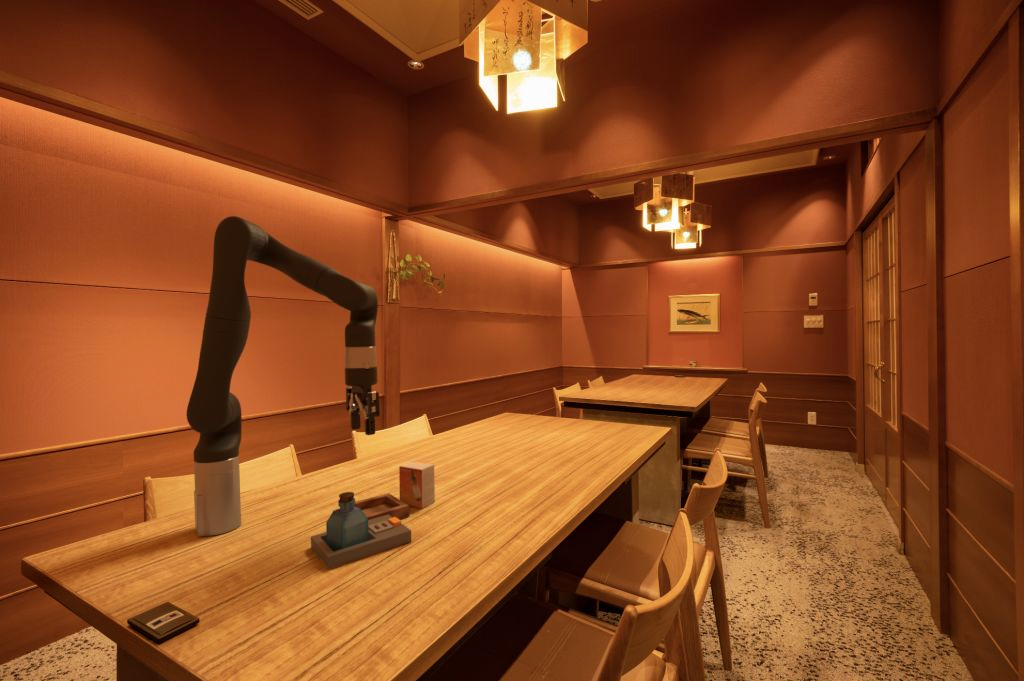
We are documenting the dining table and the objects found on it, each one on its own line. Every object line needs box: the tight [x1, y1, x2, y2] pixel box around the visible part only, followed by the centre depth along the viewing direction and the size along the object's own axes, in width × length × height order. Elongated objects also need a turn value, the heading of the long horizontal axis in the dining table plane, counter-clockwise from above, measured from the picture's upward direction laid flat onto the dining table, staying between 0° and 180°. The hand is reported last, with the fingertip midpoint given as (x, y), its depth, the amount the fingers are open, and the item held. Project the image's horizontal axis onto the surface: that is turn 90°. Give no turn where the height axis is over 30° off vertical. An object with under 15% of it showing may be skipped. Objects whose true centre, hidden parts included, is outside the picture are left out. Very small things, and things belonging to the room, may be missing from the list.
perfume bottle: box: [325, 491, 369, 552], centre depth 100 cm, size 6×6×12 cm
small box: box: [398, 460, 436, 510], centre depth 126 cm, size 8×6×10 cm
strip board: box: [310, 515, 412, 570], centre depth 102 cm, size 18×12×3 cm, turn 129°
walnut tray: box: [354, 493, 410, 520], centre depth 117 cm, size 12×12×3 cm
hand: (362, 431), depth 112 cm, fingers open, 8 cm apart
